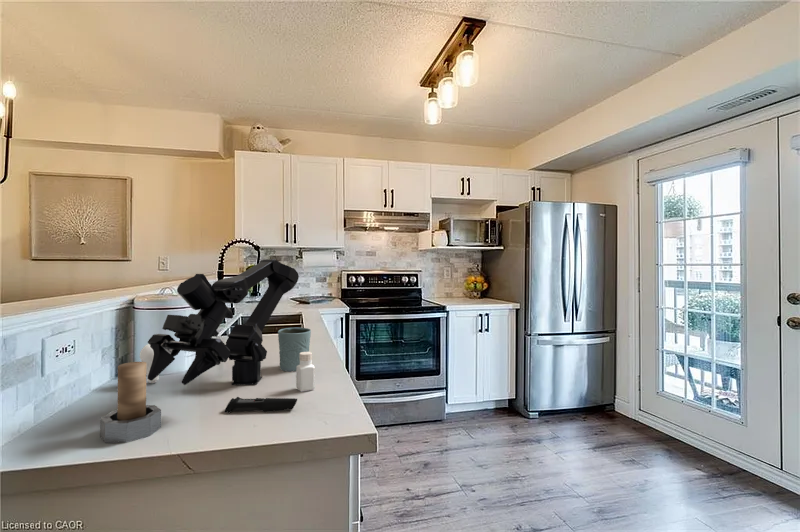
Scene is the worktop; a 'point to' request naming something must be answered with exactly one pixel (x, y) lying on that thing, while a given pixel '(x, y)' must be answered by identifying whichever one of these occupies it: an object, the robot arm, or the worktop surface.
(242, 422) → the worktop surface
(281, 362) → the teal plant pot
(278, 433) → the worktop surface
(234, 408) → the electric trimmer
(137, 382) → the wooden peg
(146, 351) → the lightbulb
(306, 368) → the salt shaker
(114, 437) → the gray faceted open holder
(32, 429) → the worktop surface
